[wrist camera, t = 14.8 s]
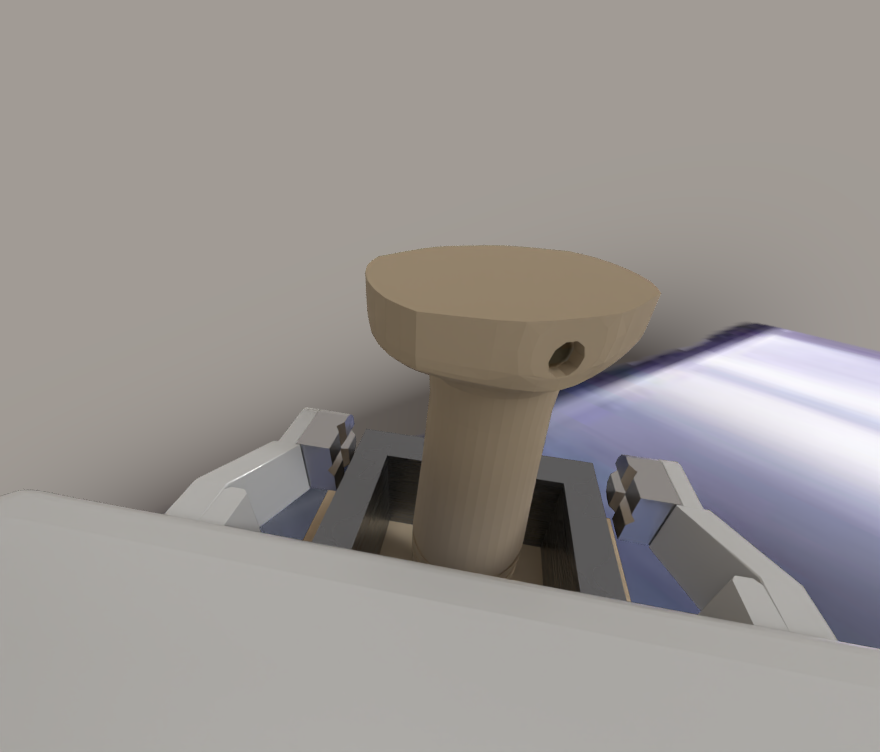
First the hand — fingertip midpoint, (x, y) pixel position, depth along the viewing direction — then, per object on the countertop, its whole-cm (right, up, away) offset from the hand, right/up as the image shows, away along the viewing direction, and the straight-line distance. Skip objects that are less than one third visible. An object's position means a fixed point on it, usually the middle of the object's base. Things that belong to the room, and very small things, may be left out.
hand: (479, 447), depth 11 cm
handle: (-1, -8, +5) cm, 10 cm away
